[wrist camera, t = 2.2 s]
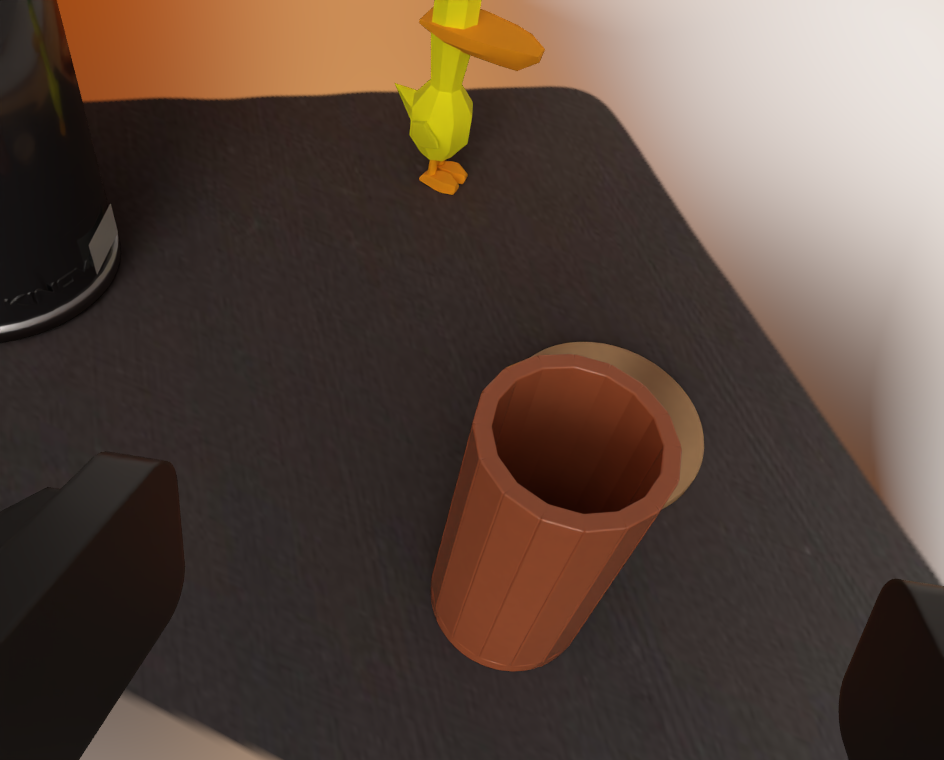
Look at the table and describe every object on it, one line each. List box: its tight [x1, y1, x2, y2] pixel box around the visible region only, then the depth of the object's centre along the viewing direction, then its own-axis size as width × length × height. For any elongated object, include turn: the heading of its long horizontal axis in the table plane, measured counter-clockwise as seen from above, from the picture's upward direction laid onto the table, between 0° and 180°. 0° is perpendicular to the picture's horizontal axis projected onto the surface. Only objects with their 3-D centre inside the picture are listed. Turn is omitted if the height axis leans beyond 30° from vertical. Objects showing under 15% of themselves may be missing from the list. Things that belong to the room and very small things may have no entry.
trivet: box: [530, 342, 704, 509], centre depth 34 cm, size 8×8×1 cm
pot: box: [431, 354, 682, 671], centre depth 25 cm, size 5×5×10 cm
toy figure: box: [395, 0, 545, 195], centre depth 37 cm, size 7×4×12 cm, turn 66°
